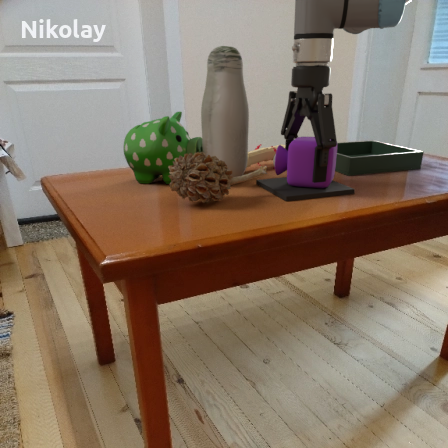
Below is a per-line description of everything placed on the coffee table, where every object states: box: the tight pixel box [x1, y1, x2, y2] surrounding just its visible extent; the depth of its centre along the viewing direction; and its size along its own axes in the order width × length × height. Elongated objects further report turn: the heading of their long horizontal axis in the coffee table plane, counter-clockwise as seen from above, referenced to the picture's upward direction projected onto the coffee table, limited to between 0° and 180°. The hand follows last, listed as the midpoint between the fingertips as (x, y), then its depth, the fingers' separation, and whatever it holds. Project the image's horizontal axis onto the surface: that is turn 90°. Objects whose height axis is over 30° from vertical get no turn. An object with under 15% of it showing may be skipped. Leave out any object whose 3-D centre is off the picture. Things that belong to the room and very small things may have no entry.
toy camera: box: [272, 136, 337, 188], centre depth 95 cm, size 11×14×10 cm
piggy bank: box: [123, 111, 203, 185], centre depth 103 cm, size 14×18×15 cm
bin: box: [335, 139, 425, 177], centre depth 119 cm, size 22×22×4 cm
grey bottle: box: [200, 45, 250, 178], centre depth 97 cm, size 10×10×28 cm
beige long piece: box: [246, 143, 285, 170], centre depth 115 cm, size 10×9×25 cm
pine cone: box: [168, 152, 270, 204], centre depth 88 cm, size 22×10×10 cm, turn 120°
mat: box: [255, 176, 356, 202], centre depth 97 cm, size 16×16×1 cm
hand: (303, 175), depth 96 cm, fingers closed on toy camera, 13 cm apart
